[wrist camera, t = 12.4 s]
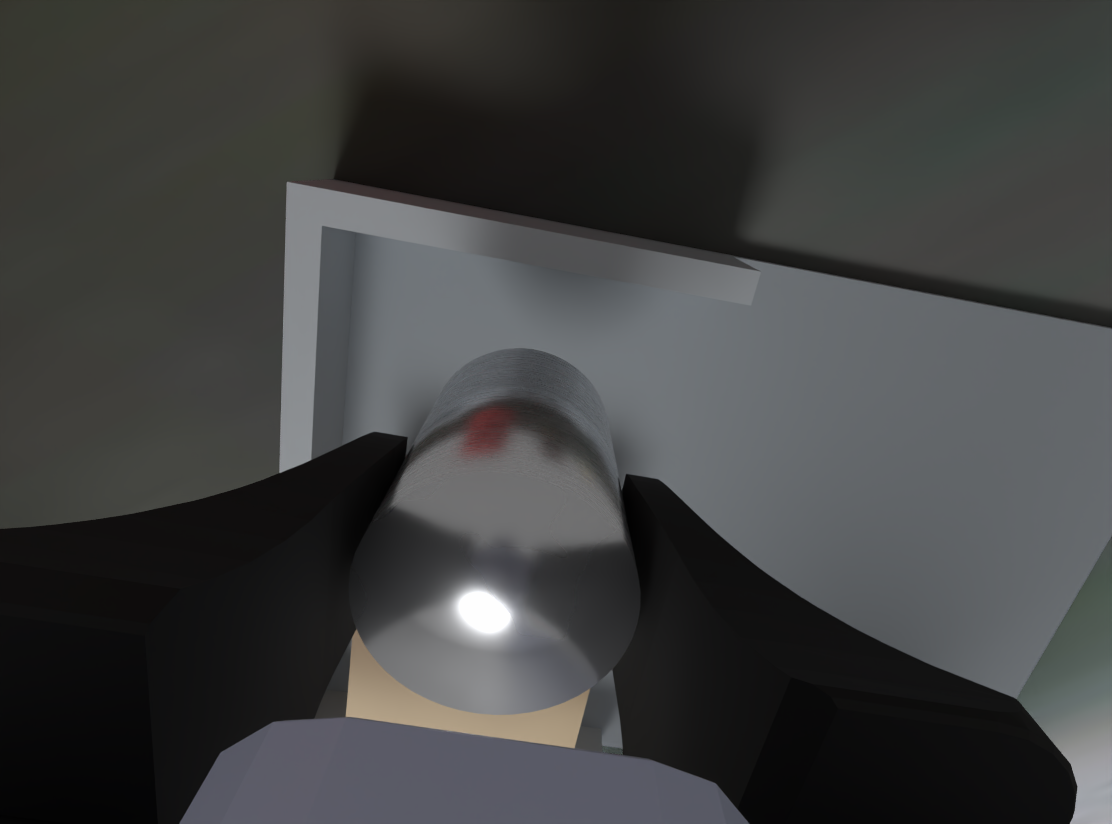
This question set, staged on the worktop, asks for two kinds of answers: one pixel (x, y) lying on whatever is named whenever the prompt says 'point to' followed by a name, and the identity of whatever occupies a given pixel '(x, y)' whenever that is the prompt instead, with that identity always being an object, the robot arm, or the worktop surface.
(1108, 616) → the worktop surface
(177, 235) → the worktop surface
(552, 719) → the oak tile
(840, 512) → the parts board
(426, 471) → the metal peg
